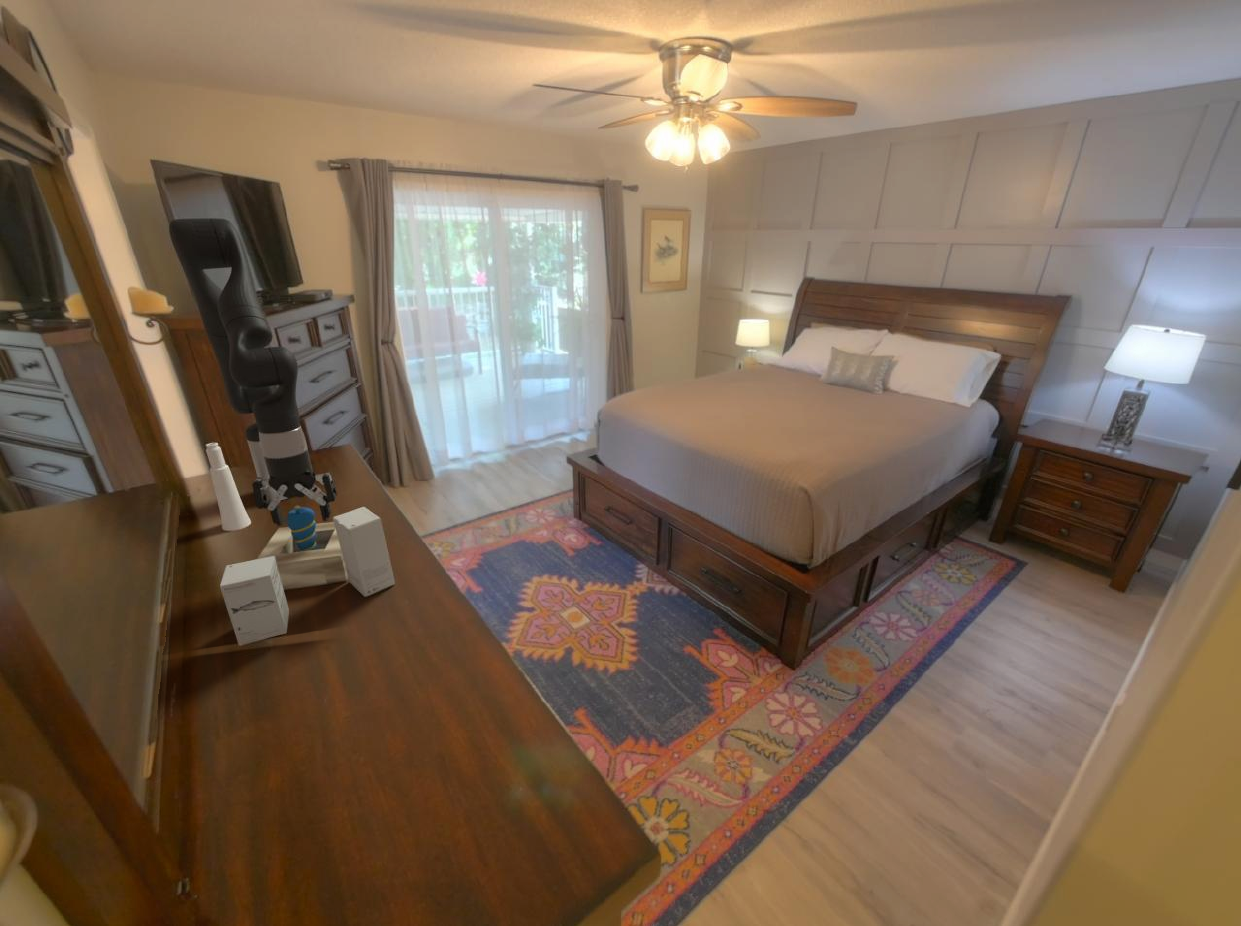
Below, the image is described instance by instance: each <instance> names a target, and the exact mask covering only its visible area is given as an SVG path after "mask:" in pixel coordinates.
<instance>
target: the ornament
mask: <svg viewBox="0 0 1241 926" xmlns="http://www.w3.org/2000/svg"><path fill="white" fill-rule="evenodd" d="M315 516H316V514H315V511H314V510H313V509H311V508H309V507H303V506H302V507H300V505H297V504H295V505H294V509H292V510H290V511H288V514H287V516H286V524H287V527H289V528H290V529H291V534H292V536H293V538H294V539H295V540H296V544H297V546H298V548H299V549H300V550H301V551H309V550H317V544H316V531H315V528H316V524H317V522H316V520H315V519H316V517H315Z"/></svg>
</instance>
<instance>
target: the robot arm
mask: <svg viewBox="0 0 1241 926" xmlns="http://www.w3.org/2000/svg"><path fill="white" fill-rule="evenodd" d="M168 231H169V237H170V240H171V242H172V245H173V249H174V251H175V253H176V256H177V258H178V261H179V262H180V265H181V267H182V269H183V272H184V274H185V277H186V278H187V281H188V284H189V287H190V288H191V291H192V293H193V296H194V298H195V302H196V304H197V308H198V311H199V314H200V318H201V321H202V324H203V329H204V331H205V334H206V335H207V339H208V342H209V344H210V345H211V348H212V351H213V354H214V355H215V359H216V362H217V364H218V366H219V370H220V374H221V376H222V381H223V384H224V387H225V393H226V396H227V399H228V402H229V404H230V407H231V408H232V410H233V411H234V412H235V413H237V414H239V415H251V414H253V415H254V419H255V423H252V424H251V425H249V426H247V427H246V428H245V429H244V432H245V434H244V435H245V437H246V441H247V444H248V447H249V452H250V454H251V458H252V462H253V465H254V468H255V472H256V476H257V478H256V479H255V480H254V481H253V482H252V484H251V486H252V490H253V495H254V500H255V503H256V507H257V509H259V510H262V509H266V510H269V513H270V515H271V520H272V523H273V524H275V525H276V526H277V527H280V526H283V525H284V523H285V517H284V514H283V511H282V507H281V505H279V504H280V502H281V501H284V500H287V499H293V498H303V497H304V498H305V496H307V497H308V498H309V499H310V500H313V501H314V502H316V503H317V504H318V505H319V510H320V513H321V518H322V519H321V520H322V522H327V521H328V520H329V518H330V517H331V515H332V509H331V505H330V504H331V502H332V503H333V502H335V500H336V499H337V497H338V495H339V494H338V491H337V488H336V485H335V480H334V478H333V474H332V472H331V471H328V470H327V471H325V473H319V474H316V473H315V472H314V470H313V465H312V461H311V457H310V453H309V449H308V445H307V444H308V443H307V441H306V437H305V434H304V433H305V432H303V431H304V430H303V429H302V425H301V422H300V417H299V412H298V409H297V400H296V399H297V397H296V395H297V390H296V389H297V381H298V374H299V373H298V371H299V369H298V362H297V361H298V360H297V358H296V355H294V354H293V353H292V352H291V351H290V349H288V348H287V347H285V346H271V347H268V346H269V345H270V344H271V343H272V341H273V338H274V337H273V332H272V329H271V326H270V325H269V323H268V320H267V318H266V315H265V313H264V311H263V309H262V306H261V304H260V301H259V298H258V293H257V289H256V285H255V282H254V278H253V274H252V270H251V267H250V263H249V260H248V257H247V254H246V253H247V252H246V250H245V247H244V244H243V241H242V238H241V237H240V234H239V232H238V230H237V229H236V227H235V225H234V224H233V222H231V221H230V220H228V219H225V218H217V217H216V218H214V217H213V218H212V217H211V218H210V217H209V218H208V217H207V218H206V217H205V218H204V217H203V218H202V217H201V218H178V219H177V218H176V219H172V220H170V222H169V224H168ZM225 268H226V269H229V268H230V269H231V271H230V273H229V274H230V275H229V277H228V279H227V281H226V283H225V285H224V287H223V289H221V288H220V287H219V286H218V285H217V284H216V283H215V281H213V280H212V279H211V278H210V277H209V276H208V274H207V273H206V272H205V270H210V269H211V270H212V269H225ZM317 481H318V482H319V483H320V484H321V485H323V486H324V489H325V492H323V491H322V489H321V488H320V487H319V486H317V484H315V483H316V482H317Z"/></svg>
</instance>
